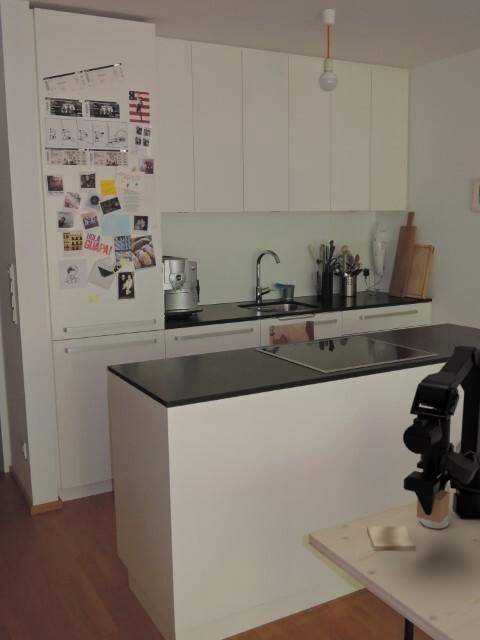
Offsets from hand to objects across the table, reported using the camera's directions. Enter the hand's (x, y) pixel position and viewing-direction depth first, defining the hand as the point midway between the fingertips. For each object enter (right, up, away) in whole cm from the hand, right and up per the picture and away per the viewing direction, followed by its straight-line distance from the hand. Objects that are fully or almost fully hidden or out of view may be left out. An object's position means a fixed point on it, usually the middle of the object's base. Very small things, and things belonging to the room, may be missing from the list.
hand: (432, 509), depth 137 cm
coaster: (-7, -10, +9) cm, 15 cm away
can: (+5, -8, +17) cm, 20 cm away
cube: (0, -1, 0) cm, 1 cm away
